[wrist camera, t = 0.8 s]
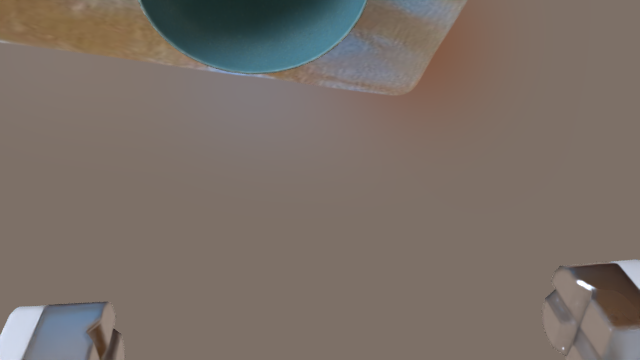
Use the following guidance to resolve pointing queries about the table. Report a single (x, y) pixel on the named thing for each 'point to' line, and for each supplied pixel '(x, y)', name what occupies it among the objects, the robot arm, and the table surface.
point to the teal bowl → (253, 30)
